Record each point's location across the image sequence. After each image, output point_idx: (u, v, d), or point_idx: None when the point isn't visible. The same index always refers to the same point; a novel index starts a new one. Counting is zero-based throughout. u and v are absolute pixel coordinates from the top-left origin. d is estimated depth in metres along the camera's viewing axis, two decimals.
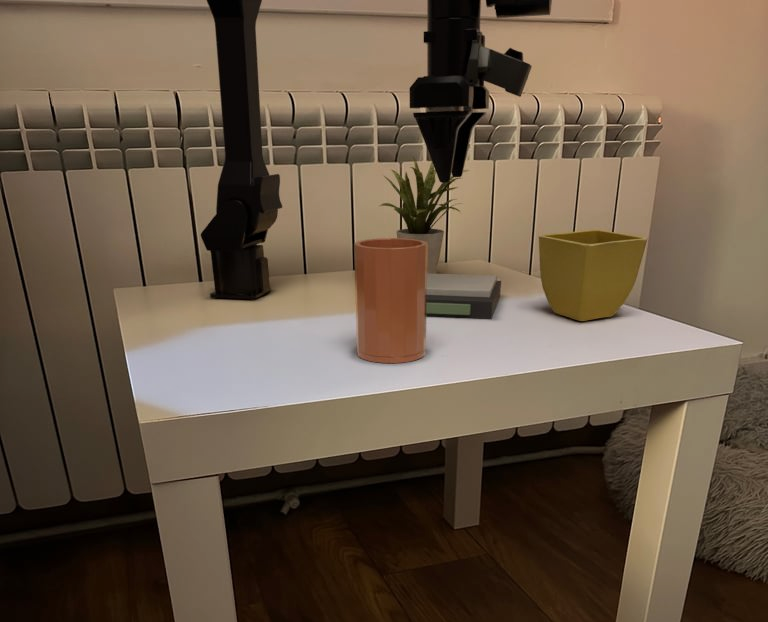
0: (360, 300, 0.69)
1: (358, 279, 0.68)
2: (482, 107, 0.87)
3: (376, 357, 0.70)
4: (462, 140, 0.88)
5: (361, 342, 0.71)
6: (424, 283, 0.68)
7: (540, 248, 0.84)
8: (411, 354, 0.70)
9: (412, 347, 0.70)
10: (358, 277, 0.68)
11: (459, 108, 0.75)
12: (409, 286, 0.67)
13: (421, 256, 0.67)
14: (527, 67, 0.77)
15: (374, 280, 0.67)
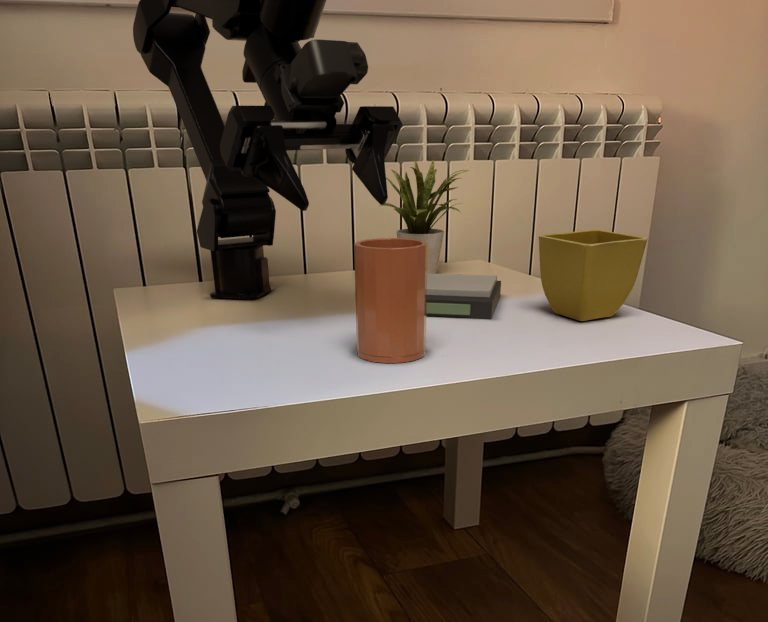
0: (360, 300, 0.69)
1: (358, 279, 0.68)
2: (377, 123, 0.74)
3: (376, 357, 0.70)
4: (371, 166, 0.75)
5: (361, 342, 0.71)
6: (424, 283, 0.68)
7: (540, 248, 0.84)
8: (411, 354, 0.70)
9: (412, 347, 0.70)
10: (358, 277, 0.68)
11: (252, 131, 0.68)
12: (409, 286, 0.67)
13: (421, 256, 0.67)
14: (313, 43, 0.66)
15: (374, 280, 0.67)
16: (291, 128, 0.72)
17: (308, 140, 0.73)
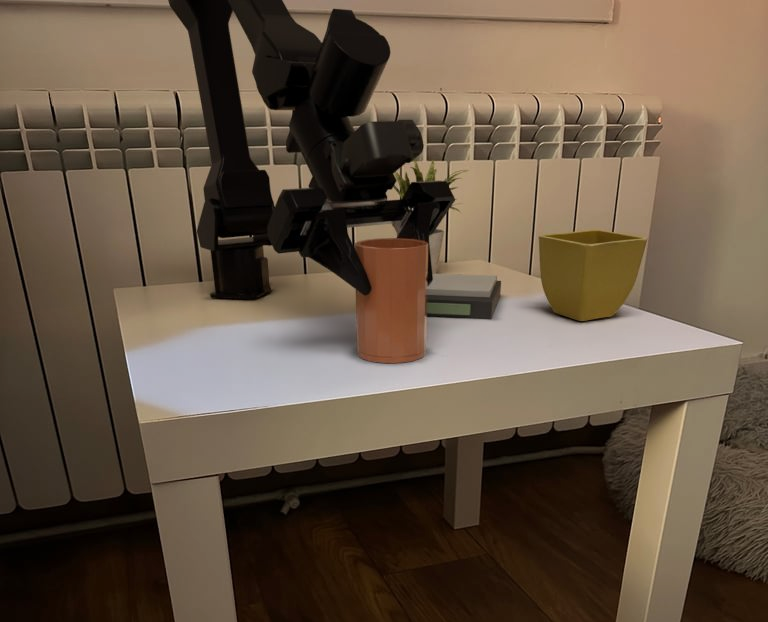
0: (360, 300, 0.69)
1: None
2: (430, 199, 0.71)
3: (376, 357, 0.70)
4: None
5: (361, 342, 0.71)
6: (424, 283, 0.68)
7: (540, 248, 0.84)
8: (411, 354, 0.70)
9: (412, 347, 0.70)
10: None
11: (314, 216, 0.65)
12: (409, 286, 0.67)
13: (421, 256, 0.67)
14: (370, 126, 0.63)
15: (374, 280, 0.67)
16: (351, 207, 0.69)
17: (349, 220, 0.69)
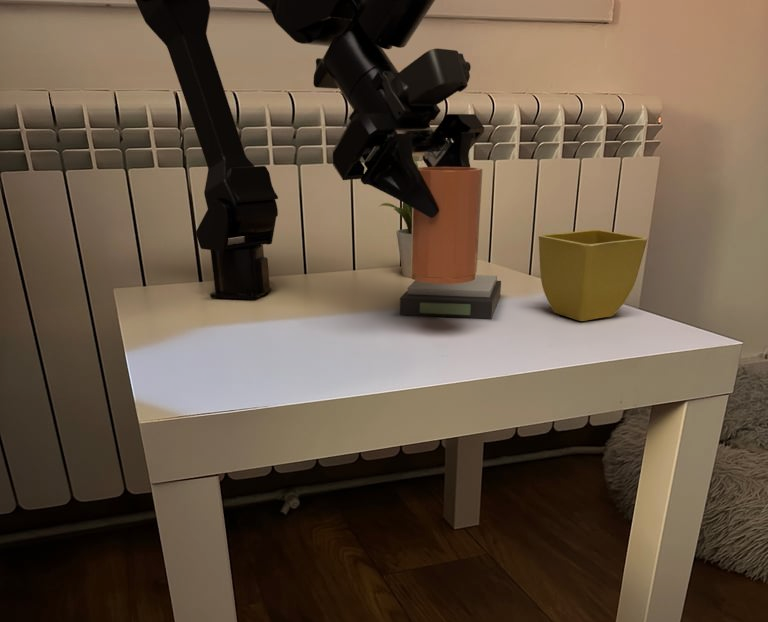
0: (423, 224, 0.72)
1: None
2: (467, 130, 0.76)
3: (440, 279, 0.74)
4: None
5: (422, 266, 0.74)
6: None
7: (540, 248, 0.84)
8: (470, 274, 0.75)
9: (471, 268, 0.75)
10: None
11: (385, 140, 0.68)
12: (472, 208, 0.72)
13: (480, 179, 0.72)
14: (435, 52, 0.67)
15: (441, 202, 0.71)
16: None
17: None
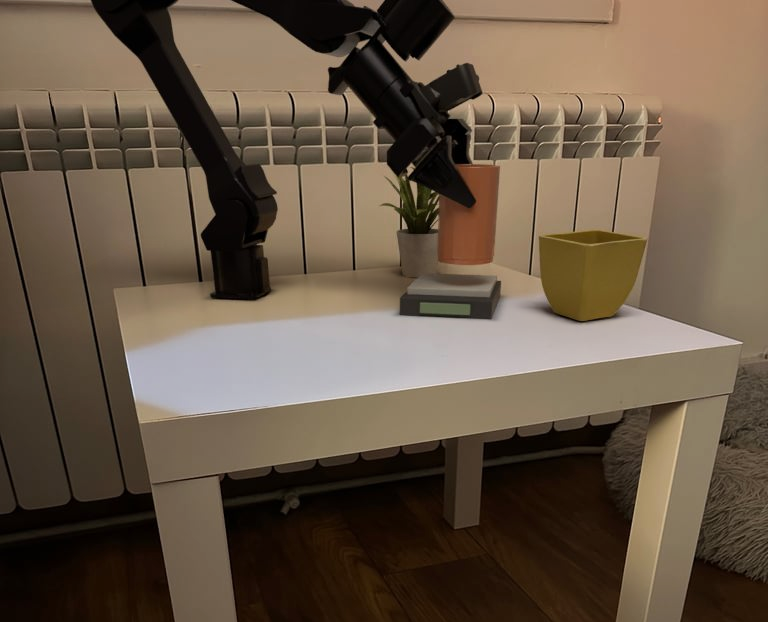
0: (459, 214, 0.83)
1: None
2: (464, 132, 0.88)
3: (474, 260, 0.86)
4: None
5: (458, 250, 0.85)
6: None
7: (540, 248, 0.84)
8: None
9: (493, 250, 0.87)
10: None
11: (437, 141, 0.78)
12: (496, 198, 0.84)
13: None
14: (466, 66, 0.78)
15: (477, 194, 0.82)
16: None
17: None
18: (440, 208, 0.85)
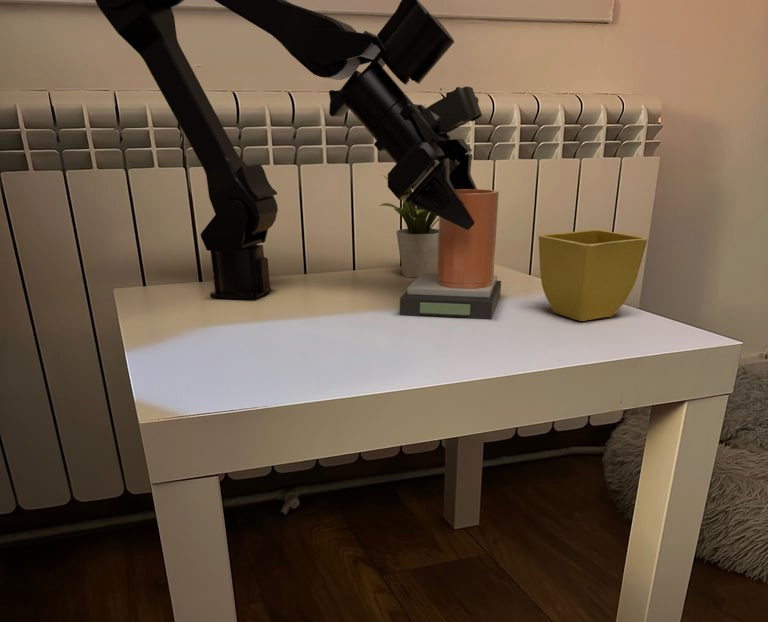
0: (459, 239, 0.85)
1: None
2: (464, 153, 0.89)
3: (474, 284, 0.87)
4: None
5: (458, 274, 0.87)
6: None
7: (540, 248, 0.84)
8: (492, 279, 0.89)
9: (493, 273, 0.89)
10: None
11: (434, 164, 0.78)
12: (495, 223, 0.86)
13: None
14: (466, 90, 0.79)
15: (476, 220, 0.83)
16: None
17: None
18: (440, 233, 0.87)
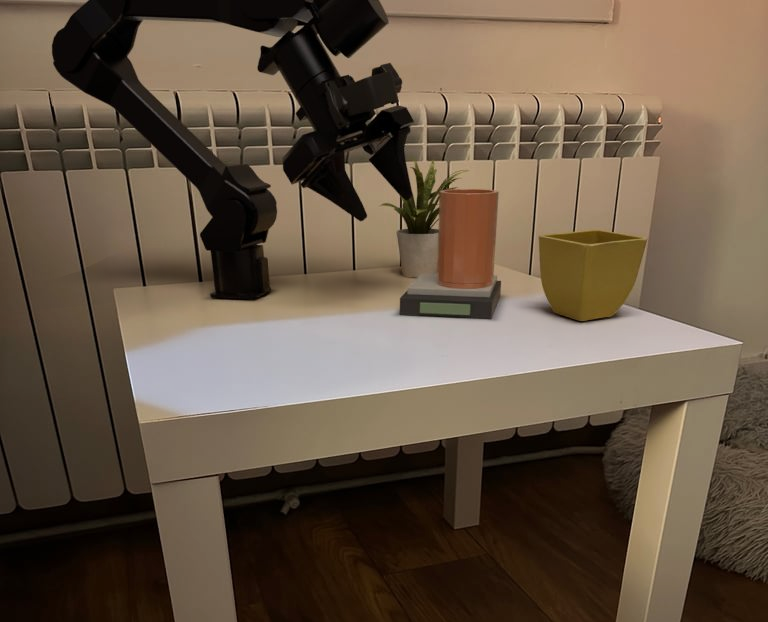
0: (459, 239, 0.85)
1: (457, 222, 0.84)
2: (398, 127, 0.87)
3: (474, 284, 0.87)
4: (396, 166, 0.89)
5: (458, 274, 0.87)
6: None
7: (540, 248, 0.84)
8: (492, 279, 0.89)
9: (493, 273, 0.89)
10: (458, 219, 0.84)
11: (322, 158, 0.79)
12: (495, 223, 0.86)
13: None
14: (371, 79, 0.77)
15: (476, 220, 0.83)
16: (339, 142, 0.83)
17: (349, 149, 0.85)
18: (440, 233, 0.87)
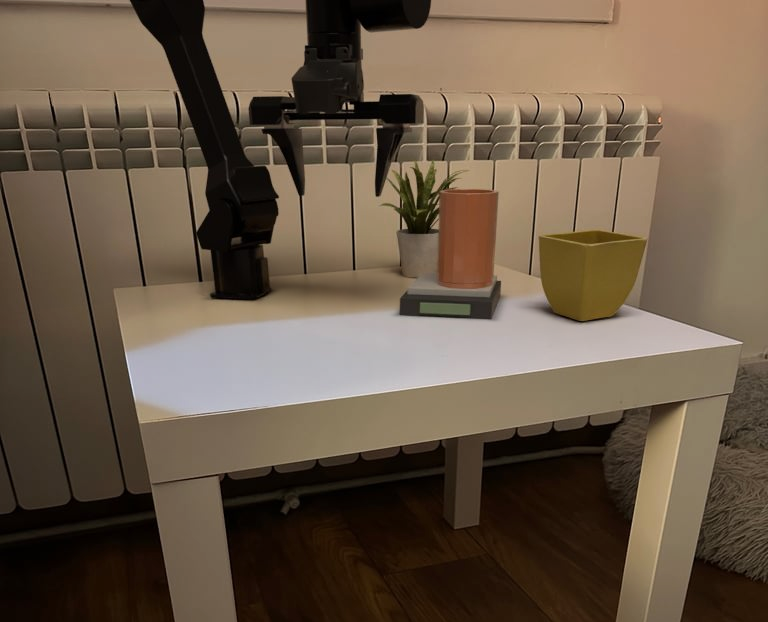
0: (459, 239, 0.85)
1: (457, 222, 0.84)
2: (385, 122, 0.77)
3: (474, 284, 0.87)
4: None
5: (458, 274, 0.87)
6: None
7: (540, 248, 0.84)
8: (492, 279, 0.89)
9: (493, 273, 0.89)
10: (458, 219, 0.84)
11: (264, 126, 0.81)
12: (495, 223, 0.86)
13: None
14: (295, 84, 0.72)
15: (476, 220, 0.83)
16: None
17: (328, 119, 0.81)
18: (440, 233, 0.87)
